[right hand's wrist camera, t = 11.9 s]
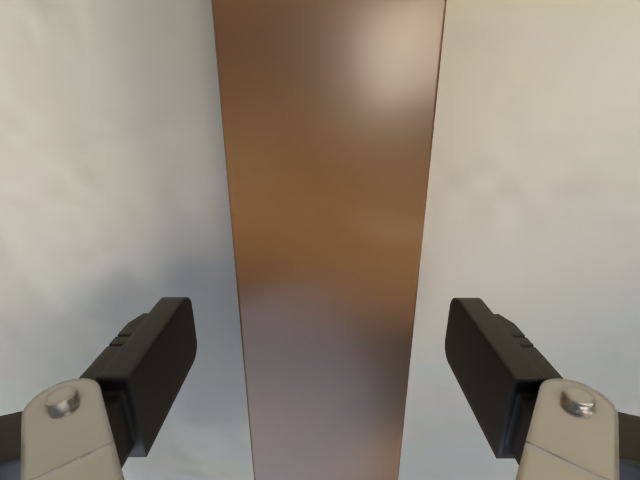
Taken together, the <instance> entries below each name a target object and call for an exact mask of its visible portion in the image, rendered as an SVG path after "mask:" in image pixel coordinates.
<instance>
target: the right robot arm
mask: <svg viewBox="0 0 640 480" xmlns="http://www.w3.org/2000/svg"><path fill="white" fill-rule="evenodd" d="M196 350H197V339H196V332H195V324H194V317H193V310H192V303H191V300H190V299H189V298H188V297H163V298H161V299H160V300H159V302H158V303H157V304H156V305H155V306H154V308H153V309H152V310H151V311H150V313H144V314H142V315H140V316H139V317H137V318H136V319H134V320H132V321H131V322H129V323H128V324H127V325H126V326H125V327H124V328H123V329H122V331H121V332H120V333H119V334H118V337H115V338H114V340H113V341H112V342H111V343H110V344H109V347H106V349H105V350H104V351H103V352H102V353H101V354H100V355H99V356H98V358H97V359H96V360H95V361H94V362H93V363H92V364H91V365H90V367H89V368H88V369H87V370H86V371H85V372H84V373H83V374H82V376H81V377H80V378H79V379H73V380H68V381H65V382H62V383H59V384H56V385H54V386H52V387H50V388H48V389H46V390H45V391H43V392H41V393H40V394H38V395H37V396H36V397H35V398H33V399H32V400H31V401H30V402H29V403H28V404H27V406H26V407H25V409H24V411H22V412H17V413H13V414H8V415H4V416H0V480H124V477H123V473H122V467H123V465H124V463H125V462H126V460H127V458H128V457H147V455H148V453H149V451H150V449H151V447H152V445H153V443H154V441H155V439H156V437H157V435H158V433H159V431H160V429H161V427H162V425H163V423H164V421H165V419H166V416H167V414H168V412H169V410H170V408H171V406H172V404H173V402H174V400H175V398H176V396H177V394H178V392H179V390H180V388H181V386H182V384H183V382H184V380H185V378H186V376H187V374H188V372H189V370H190V368H191V366H192V364H193V362H194V359H195V356H196ZM445 352H446V357H447V360H448V363H449V365H450V367H451V369H452V371H453V373H454V375H455V377H456V379H457V381H458V383H459V385H460V387H461V389H462V391H463V393H464V395H465V397H466V399H467V401H468V403H469V405H470V407H471V409H472V411H473V413H474V415H475V417H476V419H477V421H478V423H479V425H480V427H481V429H482V431H483V433H484V435H485V437H486V439H487V441H488V443H489V445H490V447H491V449H492V451H493V453H494V455H495V457H496V458H515V459H516V461H517V463H518V465H519V469H518V473H517V477H516V480H640V417H638V416H634V415H629V414H625V413H620V412H617V411H616V409H615V407H614V406H613V404H612V403H611V402H610V401H609V400H608V399H607V398H605V397H604V396H603V395H602V394H600V393H599V392H597V391H595V390H594V389H592V388H590V387H588V386H586V385H584V384H581V383H578V382H575V381H572V380H567V379H563V378H562V377H561V375H560V374H559V373H558V372H557V371H556V370H555V369H554V368H553V366H552V365H551V364H550V363H549V362H548V361H547V360H546V359H545V358H544V356H543V355H542V354H541V353H540V352H539V351H538V350H537V349H536V348H534V347H533V344H532V343H531V342H530V341H529V340H528V339H527V338H525V335H524V334H523V333H522V332H521V331H520V330H519V329H518V327H517V326H516V325H515V324H514V323H512V322H510V321H509V320H507V319H506V318H504V317H502V316H501V315H499V314H493V313H492V312H491V310H490V309H489V308H488V307H487V306H486V304H485V303H484V302H483V301H482V300H481V299H480V298H453V299H452V301H451V304H450V310H449V317H448V324H447V332H446V339H445Z"/></svg>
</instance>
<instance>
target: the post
mask: <svg viewBox="0 0 640 480" xmlns="http://www.w3.org/2000/svg"><path fill="white" fill-rule="evenodd" d="M211 1H212V12H213V23H214V34H215V46H216V57H217V68H218V79H219V90H220V102H221V113H222V124H223V135H224V147H225V158H226V169H227V180H228V191H229V203H230V214H231V225H232V236H233V247H234V259H235V270H236V281H237V292H238V303H239V315H240V326H241V337H242V348H243V359H244V371H245V382H246V393H247V404H248V415H249V427H250V438H251V449H252V460H253V471H254V480H398V475H399V465H400V455H401V445H402V436H403V426H404V416H405V406H406V396H407V386H408V376H409V366H410V356H411V347H412V337H413V327H414V317H415V307H416V297H417V287H418V277H419V268H420V258H421V248H422V238H423V228H424V218H425V208H426V198H427V188H428V179H429V169H430V159H431V149H432V139H433V129H434V119H435V109H436V100H437V90H438V80H439V70H440V60H441V50H442V40H443V30H444V21H445V11H446V1H447V0H211Z"/></svg>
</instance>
